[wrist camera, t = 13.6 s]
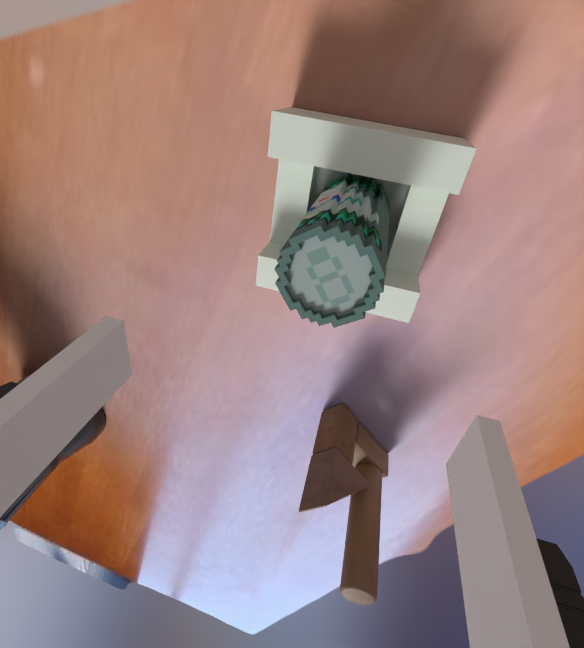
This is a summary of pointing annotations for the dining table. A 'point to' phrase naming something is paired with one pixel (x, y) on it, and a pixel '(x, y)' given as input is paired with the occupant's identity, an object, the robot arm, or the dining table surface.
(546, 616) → the robot arm
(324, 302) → the can
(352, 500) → the wooden block
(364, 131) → the socket block
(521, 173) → the dining table surface
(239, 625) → the dining table surface
